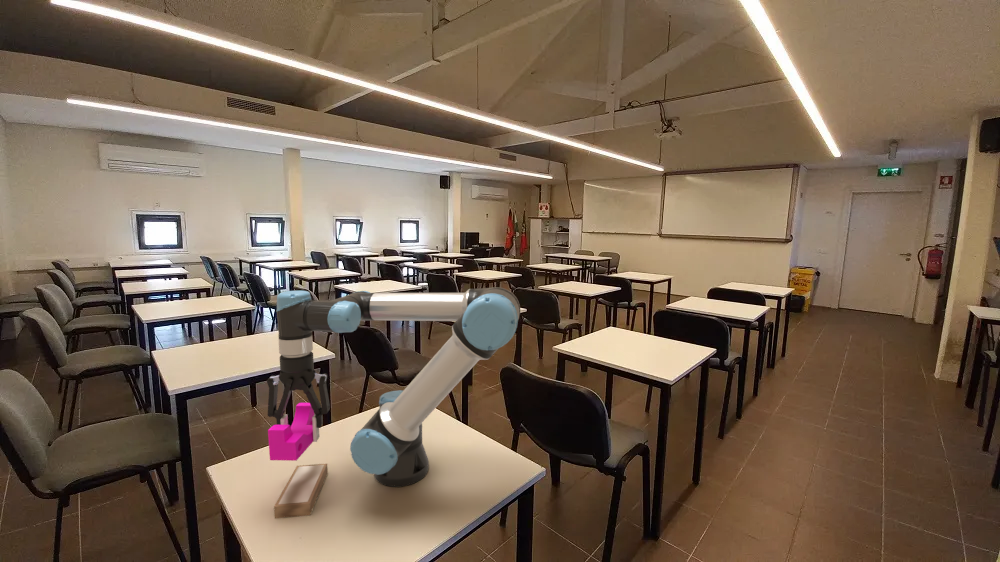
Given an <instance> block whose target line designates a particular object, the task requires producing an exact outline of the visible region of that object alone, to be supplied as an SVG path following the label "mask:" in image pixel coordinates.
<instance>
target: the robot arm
mask: <svg viewBox="0 0 1000 562" xmlns="http://www.w3.org/2000/svg"><path fill="white" fill-rule="evenodd" d="M275 313H276V319H277V329H278V353H279V355H280V356H279V369H280V372H279V374H278V375H271V376H270V377H269V378H267V380H266V383H267V386H268V402H267V416H268V417H269V418H271V417H272V418H275V420H276V425H289V420H288V419H289V417H288V415H289V414H288V413H287V414H285V413H286V408H287V405H288V403H289V400H290V398H291V394H292V391H296V390H297V391H303V393H304V395H305V396H306V398H307V400H308V403H310V405H311V407H312V409H313V411H314V416H313V417H312V422H313V442H312V443H317V442H318V440H319V438H320V429H321V428H322V426H323V424H324V420H323V419H324V416H323V415H327V414H328V412H329V411H330V409H331V404H330V399H329V398H330V397H329V393H328V385H327V379H328V374H327V373H325V372H324V373H322V374H321V373H317V372H316V370H315V368H314V364H315V363H314V362H315V361H314V352H312V351H313V350H314V346H313V344H314V342H313V332H326V333H336V334H337V333H338V334H342V333H354V331H357V329H358V327H359V326H360V324H361V321H397V322H399V321H401V322H402V321H405V322H407V321H408V322H409V321H411V322H413V321H414V322H417V321H418V322H421V321H422V322H426V321H427V322H433V321H435V322H454V323H453V325H451V331H452V335H451V336H450V338H448V340H447V341H446V342H444V344H443V345H442V346H441V348H440V349H439V350H438V351H437V352H436V353H435V354H434V355H433V357H432V358H431V359H430V360H429V361H428V362H427V364H425V365H424V367H423V368H422V369H421V370H420V371H419V373H418V374H417V375H416V376H415V377H414V378H413V379H412V380H411V382H410V383H409V384H408V385H407V386H406V387H405V388H404V389H403V390H399V389H398V390H391V391H386V392H385V393H382V394H381V395H380V396H379V399H378V400H379V401H378V405H379V407H378V408H379V409H378V410H377V411H375V413H374V414H373V415H372V416H371V418H369V420H368V421H367V422H366V423H365V424H364V425H363V427H362V428H360V430H358V431H357V432H356V433H355V434H354V437H353V438H352V439H351V443H350V449H349V450H350V455H351V459H352V461H353V462H354V463H355V465H356V466H357V467H358V468H359V469H360V470H361V471H363V472H364V473H367V474H370V475H374V478H375V480H376V481H377V482H378V483H380V484H381V485H383V486H387V487H395V488H396V487H398V488H399V487H406V486H410V485H413V484H416V483H418V482H419V481H421V480H422V479H424V478H425V477H426V475H427V474H428V472H429V469H430V467H429V466H430V465H429V458H428V455H427V451H426V449H425V446H424V444H423V422H424V421H426V419H427V418H428V417H429V415H431V414H432V412H433V411H434V410H435V409H436V408H437V407H438V406H439V405H440V404H441V403H442V401H444V399H446V397H448V395H449V394H450V393H451V392H452V391H453V389H454V388H455V387H456V386H458V384H459V383H460V382H461V381H462V380H463V379H464V378H465V376H466V375H467V374H468V373H469V372H470V371H471V370H472V369H473V367H475V366H476V364H478V362H479V361H480V360H481V361H482V360H484V361H486V360H489V359H491V358H492V356H493V355H494V354H495V353H496V352H497V351H498V350H499V349H500V348H502V347H504V346H506V345H507V344H508V343H509V342H510V341H511V340H512V338H513V337H514V336H515V333H516V331H517V328H518V324H519V323H518V322H519V319H520V317H521V305H520V302H519V300H518V298H517V296H516V295H515V294H514V293H513V292H512V291H510V290H509V289H507V288H505V287H504V288H503V287H500V286H499V287H498V286H497V287H496V286H495V287H493V286H492V287H484V288H483V287H482V288H469V289H467V290H466V291H465V292H370V291H369V290H361V291H355V292H352V293H350V294H347V295H345V296H341V297H339V298H336V299H331V300H318V299H317V300H316V299H312V296H311V293H310V292H309V291H307V290H287V291H283V292H280V293H278V294H277V296H276V310H275ZM314 379H315V380H316V383H317V384H318V393H319V398H320V399H319V398H318V395H317V394H316V392H315V390H314V385H313V383H312V382H313V381H314ZM280 382H281V383H282V384H283V386H284V389H283V392H282V396H281V399H280V402H279V405H277V404H278V391H279V383H280ZM319 400H320V401H319ZM277 407H278V408H277Z"/></svg>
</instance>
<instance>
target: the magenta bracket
mask: <svg viewBox="0 0 1000 562" xmlns="http://www.w3.org/2000/svg"><path fill="white" fill-rule="evenodd" d="M314 414H315V413H314V411H313V409H312V407H311V405H310V402H299V403H297V404H296V406H295V412H294V418H293V421H292V423H291V425H290V424H288V425H277V424H273V425H272V426H271V427H269V429H267V435H268V436H267V437H268V450H269V461H297V460H299V458H300V457H301V456H302V455H303V454H304V453H305V452H306V451H307V449H308V448H309V447H310V446H311V445H312V444H313V443H314V442H313V422H312V417H313V416H314Z"/></svg>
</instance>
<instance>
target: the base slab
mask: <svg viewBox="0 0 1000 562" xmlns="http://www.w3.org/2000/svg"><path fill="white" fill-rule="evenodd" d="M328 468H329V467H328V463H319V464H318V463H315V464H303V465H296V467H295V469H294V470H293V472H292V474H291V476H290V477H289V479H288V481H287V482H286V484H285V486H284V488H283V490H282V492H281V494H280V495H279V497H278V499H277V500H276V502H275V504H274V506H273V510H274V511H273V513H274V514H273V515H274V519H281V518H283V519H285V518H293V517H302V516H303V517H304V516H311V514H312V512H313V510H314V507H315V504H316V502H317V500H318V499H319V495H320V493H321V490H322V488H323V486H324V483H325V481H326V478H327V476H328Z"/></svg>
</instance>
